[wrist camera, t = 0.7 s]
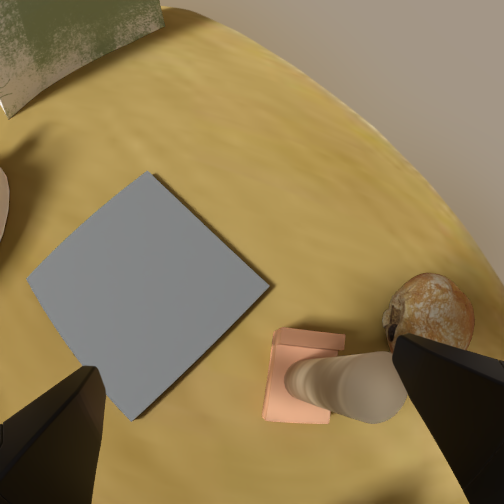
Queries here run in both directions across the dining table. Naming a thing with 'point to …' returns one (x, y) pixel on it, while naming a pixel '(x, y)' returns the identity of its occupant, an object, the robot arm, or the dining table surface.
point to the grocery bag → (63, 40)
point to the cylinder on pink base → (328, 380)
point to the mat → (143, 292)
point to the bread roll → (430, 312)
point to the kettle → (3, 201)
